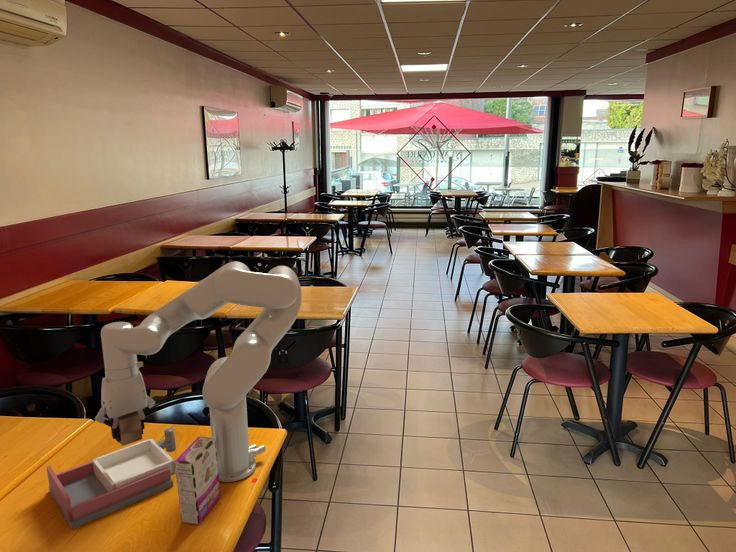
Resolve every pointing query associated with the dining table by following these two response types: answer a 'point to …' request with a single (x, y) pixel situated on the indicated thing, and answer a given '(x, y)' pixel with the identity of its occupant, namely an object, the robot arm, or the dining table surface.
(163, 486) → the bay
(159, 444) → the white tray
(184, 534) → the dining table surface
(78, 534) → the dining table surface
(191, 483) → the candy bar box
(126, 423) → the walnut block
